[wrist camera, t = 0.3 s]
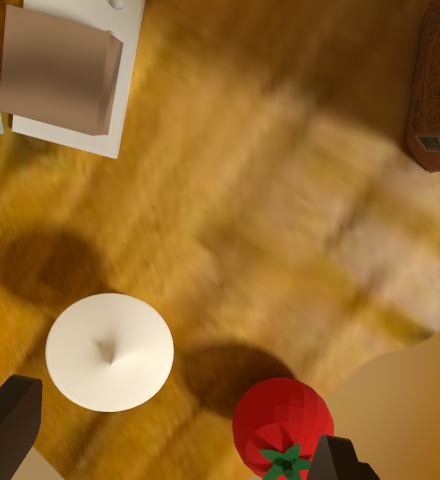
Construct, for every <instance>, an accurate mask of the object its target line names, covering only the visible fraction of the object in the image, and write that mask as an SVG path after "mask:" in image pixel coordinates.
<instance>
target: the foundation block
mask: <svg viewBox="0 0 440 480" xmlns="http://www.w3.org/2000/svg"><path fill="white" fill-rule="evenodd" d="M122 49H123V42H121V41H120V40H119V39H117V38H116V37H114V36H113V35H112V34H110V33H109V32H106V31H103V30H99V29H96V28H92V27H88V26H85V25H81V24H78V23H74V22H70V21H67V20H63V19H59V18H56V17H52V16H49V15H45V14H41V13H38V12H34V11H31V10H27V9H23V8H20V7H16V6H13V5H9V4H7V6H6V19H5V31H4V44H3V56H2V68H1V81H0V111H2V112H6V113H10V114H13V115H17V116H21V117H24V118H28V119H32V120H35V121H39V122H43V123H47V124H50V125H54V126H58V127H61V128H65V129H69V130H73V131H76V132H80V133H84V134H87V135H91V136H97V135H108V133H109V127H110V121H111V115H112V109H113V103H114V97H115V91H116V85H117V79H118V73H119V67H120V61H121V55H122Z"/></svg>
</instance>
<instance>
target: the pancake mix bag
mask: <svg viewBox="0 0 440 480" xmlns="http://www.w3.org/2000/svg"><path fill="white" fill-rule="evenodd" d="M404 139H405V141H406V144H407V146H408V148H409V150H410V153H411V154H412V155H413V156H414V157H415V158H416V160H417V161H418V162H419V163H420V164H421V165H422V166H423V167H424V168H425V169H426V170H427V171H428V172H429V173H433V172H438V171H440V0H432V2H431V4H430V6H429V8H428V10H427V12H426V13H425V15H424V17H423V21H422V28H421V34H420V41H419V48H418V55H417V61H416V67H415V73H414V82H413V90H412V97H411V104H410V110H409V115H408V120H407V125H406V132H405V138H404Z"/></svg>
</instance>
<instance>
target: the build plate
mask: <svg viewBox="0 0 440 480" xmlns="http://www.w3.org/2000/svg"><path fill="white" fill-rule="evenodd" d="M144 5H145V0H24V6H23V9H27V10H31V11H34V12H38V13H41V14H45V15H49V16H52V17H56V18H59V19H63V20H67V21H70V22H74V23H78V24H81V25H85V26H88V27H92V28H96V29H99V30H103V31H106V32H109V33H110V34H112V35H113V36H114V37H116V38H117V39H119V40H120V41H121V42H123V49H122V55H121V61H120V67H119V73H118V79H117V85H116V91H115V97H114V103H113V109H112V115H111V121H110V127H109V133H108V135H97V136H91V135H87V134H84V133H80V132H76V131H73V130H69V129H65V128H61V127H58V126H54V125H50V124H47V123H43V122H39V121H35V120H32V119H28V118H24V117H21V116H17V115H13V125H12V131H14V132H17V133H21V134H25V135H29V136H32V137H36V138H40V139H43V140H47V141H51V142H55V143H58V144H62V145H66V146H69V147H73V148H77V149H81V150H84V151H88V152H92V153H96V154H99V155H103V156H107V157H110V158H114V159H116V158H118V153H119V147H120V141H121V135H122V130H123V124H124V118H125V113H126V107H127V101H128V96H129V90H130V84H131V79H132V73H133V67H134V62H135V56H136V50H137V45H138V39H139V33H140V28H141V22H142V16H143V11H144Z"/></svg>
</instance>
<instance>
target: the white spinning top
mask: <svg viewBox="0 0 440 480" xmlns="http://www.w3.org/2000/svg"><path fill="white" fill-rule="evenodd" d="M173 353H174V350H173V341H172V337H171V334H170V331H169V329H168V326H167V325H166V323H165V321H164V320H163V318H162V317H161V316H160V315H159V313H158V312H157V311H156V310H154V309H153V308H152V307H151V306H149V305H148V304H147V303H145V302H143V301H141V300H139V299H137V298H135V297H132V296H128V295H124V294H117V293H103V294H97V295H92V296H89V297H86V298H83V299H81V300H79V301H77V302H75V303H74V304H72V305H71V306H69V307H68V308H67V309H65V310H64V311H63V312H62V313H61V314H60V316H59V317H58V318H57V319H56V321H55V322H54V324H53V326H52V328H51V330H50V332H49V335H48V338H47V343H46V363H47V368H48V371H49V374H50V376H51V378H52V380H53V382H54V384H55V385H56V386H57V388H58V389H59V390H60V391H61V392H62V393H63V394H64V395H65V396H66V397H67V398H68V399H70V400H71V401H73V402H74V403H76V404H78V405H80V406H82V407H85V408H88V409H91V410H96V411H104V412H113V411H122V410H126V409H130V408H133V407H135V406H138V405H140V404H142V403H143V402H145V401H147V400H148V399H150V398H151V397H152V396H153V395H154V394H156V393H157V391H158V390H159V389H160V388H161V387H162V385H163V384H164V382H165V381H166V379H167V377H168V375H169V372H170V370H171V366H172V362H173Z"/></svg>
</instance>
